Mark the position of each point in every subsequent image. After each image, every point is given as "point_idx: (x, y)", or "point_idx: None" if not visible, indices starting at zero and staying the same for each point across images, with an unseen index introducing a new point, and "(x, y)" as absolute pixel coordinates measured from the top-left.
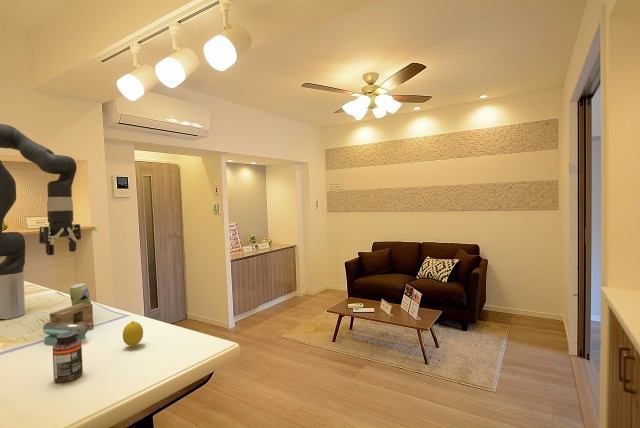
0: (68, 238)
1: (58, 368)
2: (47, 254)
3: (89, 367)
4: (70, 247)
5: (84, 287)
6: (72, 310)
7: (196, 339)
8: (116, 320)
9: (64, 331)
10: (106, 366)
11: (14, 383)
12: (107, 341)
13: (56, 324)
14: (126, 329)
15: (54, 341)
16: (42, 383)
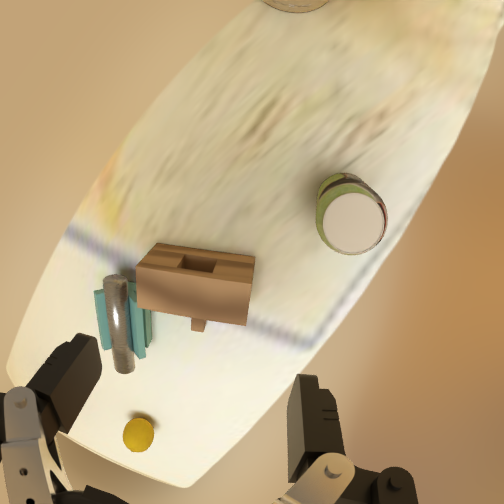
0: (287, 496)
1: None
2: (79, 334)
3: None
4: (296, 412)
5: (346, 254)
6: (173, 311)
7: (189, 467)
8: (268, 341)
9: (101, 341)
10: (89, 408)
11: (25, 334)
12: (150, 381)
13: (108, 314)
14: (123, 439)
15: None
16: (38, 363)
